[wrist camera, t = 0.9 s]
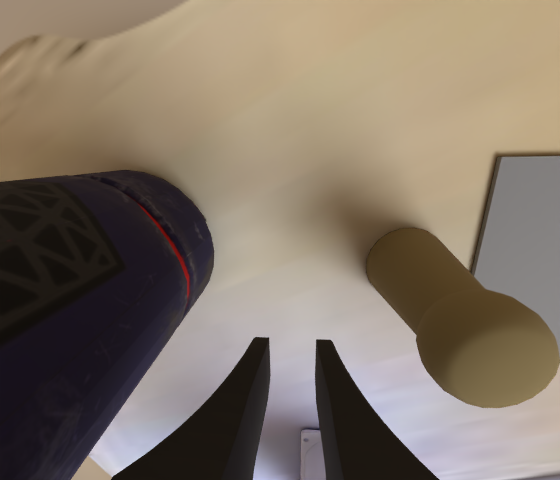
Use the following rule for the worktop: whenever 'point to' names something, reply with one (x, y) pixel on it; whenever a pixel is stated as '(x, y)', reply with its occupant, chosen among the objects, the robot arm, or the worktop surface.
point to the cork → (463, 323)
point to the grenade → (87, 306)
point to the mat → (523, 235)
